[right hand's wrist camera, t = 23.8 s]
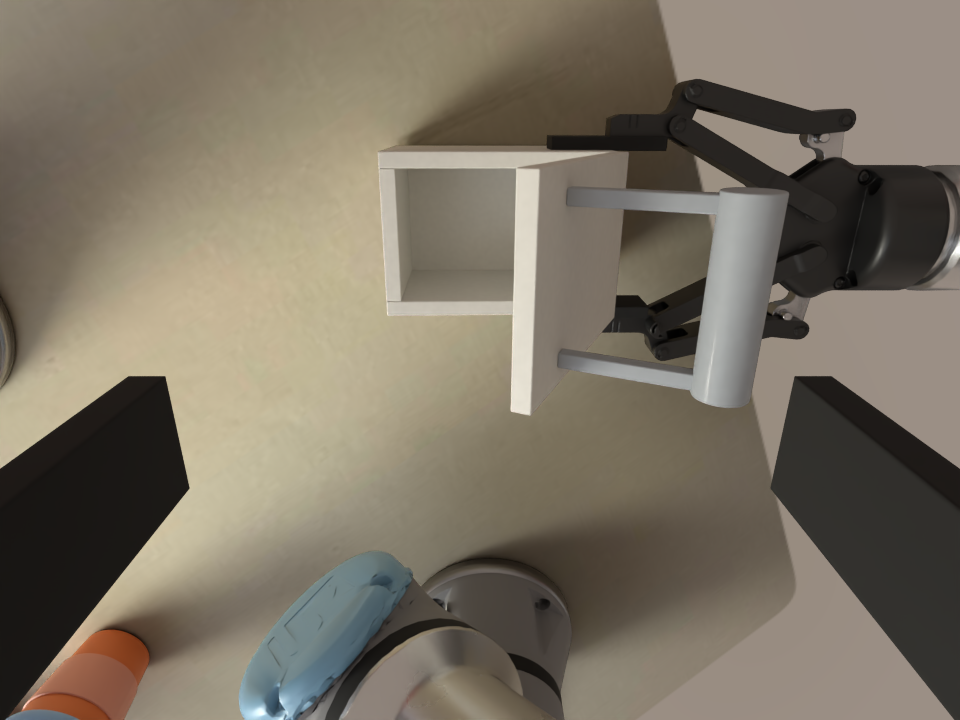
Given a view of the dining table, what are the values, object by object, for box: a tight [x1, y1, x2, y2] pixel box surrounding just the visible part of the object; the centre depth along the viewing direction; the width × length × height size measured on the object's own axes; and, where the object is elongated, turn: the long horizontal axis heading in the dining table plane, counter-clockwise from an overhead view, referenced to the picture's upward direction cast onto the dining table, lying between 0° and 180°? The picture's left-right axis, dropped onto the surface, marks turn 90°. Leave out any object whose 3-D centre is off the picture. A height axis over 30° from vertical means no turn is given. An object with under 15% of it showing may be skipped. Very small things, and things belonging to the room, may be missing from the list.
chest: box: [378, 146, 618, 316], centre depth 38 cm, size 13×9×9 cm
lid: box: [511, 152, 789, 415], centre depth 26 cm, size 14×9×9 cm
